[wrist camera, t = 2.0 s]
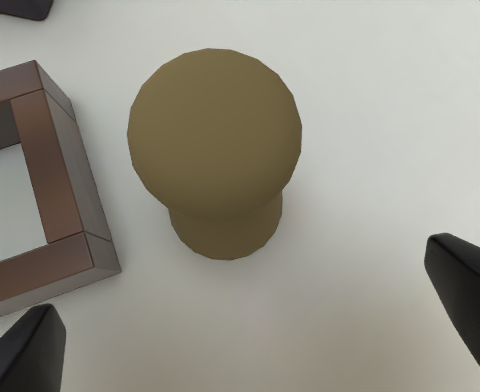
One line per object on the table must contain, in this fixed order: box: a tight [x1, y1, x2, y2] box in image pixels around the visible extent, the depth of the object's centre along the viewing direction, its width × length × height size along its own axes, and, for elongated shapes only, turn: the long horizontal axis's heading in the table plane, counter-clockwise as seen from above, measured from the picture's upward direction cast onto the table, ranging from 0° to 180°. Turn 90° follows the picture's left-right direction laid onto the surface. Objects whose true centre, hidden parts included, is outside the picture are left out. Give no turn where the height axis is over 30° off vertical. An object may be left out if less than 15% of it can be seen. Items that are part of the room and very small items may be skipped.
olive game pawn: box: [127, 48, 302, 260], centre depth 16 cm, size 6×6×11 cm
